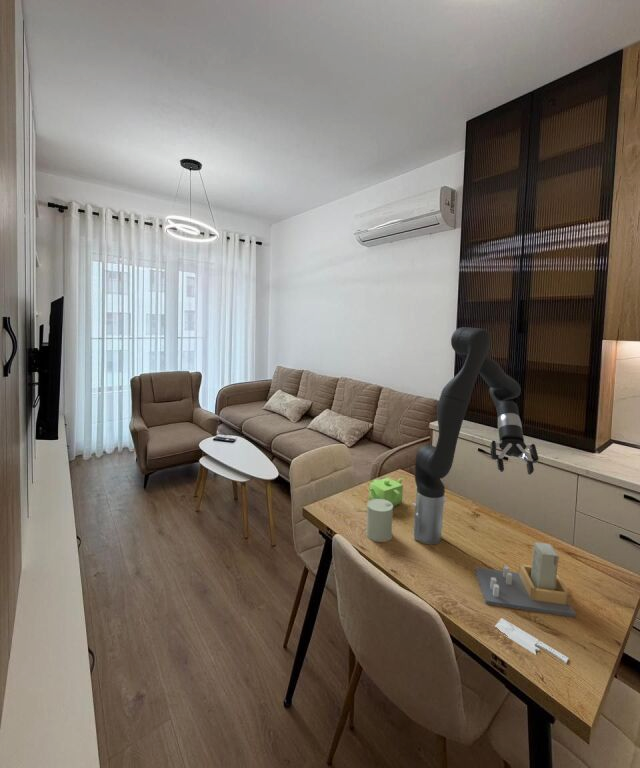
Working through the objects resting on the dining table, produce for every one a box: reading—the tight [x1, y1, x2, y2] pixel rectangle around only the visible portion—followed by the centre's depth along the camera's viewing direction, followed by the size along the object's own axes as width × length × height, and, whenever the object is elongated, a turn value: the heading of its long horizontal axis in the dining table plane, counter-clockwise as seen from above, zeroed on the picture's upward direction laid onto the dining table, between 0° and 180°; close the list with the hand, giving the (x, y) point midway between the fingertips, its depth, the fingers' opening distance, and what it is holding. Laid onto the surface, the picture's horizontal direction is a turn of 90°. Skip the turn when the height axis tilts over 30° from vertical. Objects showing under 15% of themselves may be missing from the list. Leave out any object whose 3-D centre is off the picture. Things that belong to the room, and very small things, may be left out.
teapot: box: [367, 477, 405, 507], centre depth 153 cm, size 15×13×11 cm
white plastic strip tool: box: [494, 617, 570, 664], centre depth 88 cm, size 5×15×1 cm, turn 41°
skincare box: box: [531, 541, 560, 591], centre depth 104 cm, size 6×4×12 cm
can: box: [365, 499, 394, 543], centre depth 131 cm, size 9×9×12 cm
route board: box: [474, 563, 577, 618], centre depth 105 cm, size 22×14×4 cm, turn 79°
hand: (516, 472), depth 121 cm, fingers open, 8 cm apart
